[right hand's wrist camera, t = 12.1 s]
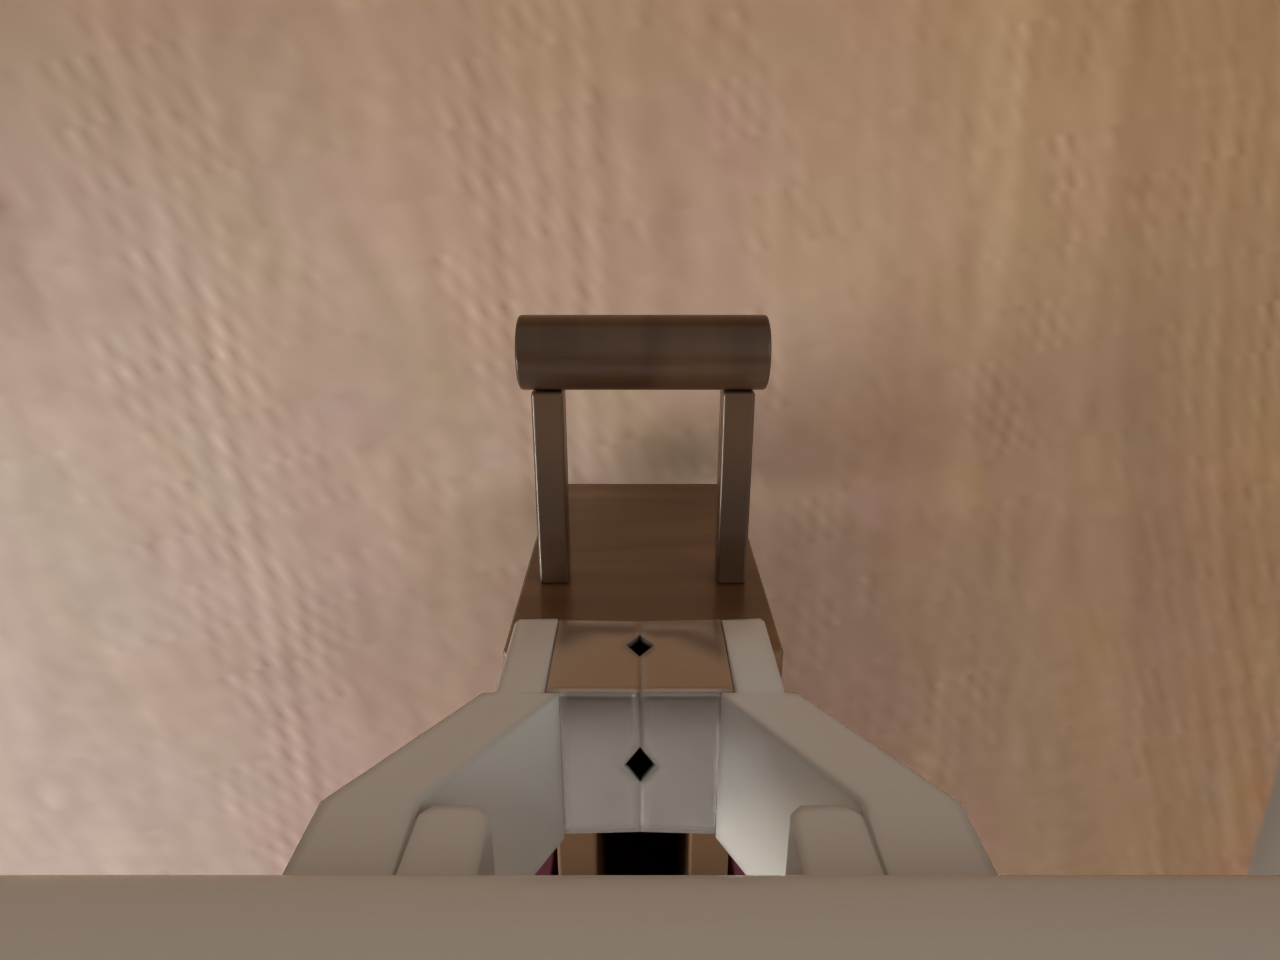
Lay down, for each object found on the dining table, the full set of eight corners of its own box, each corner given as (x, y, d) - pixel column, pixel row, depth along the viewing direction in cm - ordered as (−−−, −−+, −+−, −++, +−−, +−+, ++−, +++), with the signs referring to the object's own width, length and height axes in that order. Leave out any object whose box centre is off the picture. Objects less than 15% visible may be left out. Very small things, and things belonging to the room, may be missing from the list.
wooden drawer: (543, 280, 20) (482, 343, 12) (740, 280, 20) (805, 342, 12) (571, 986, 29) (545, 1295, 21) (711, 986, 29) (739, 1294, 21)
